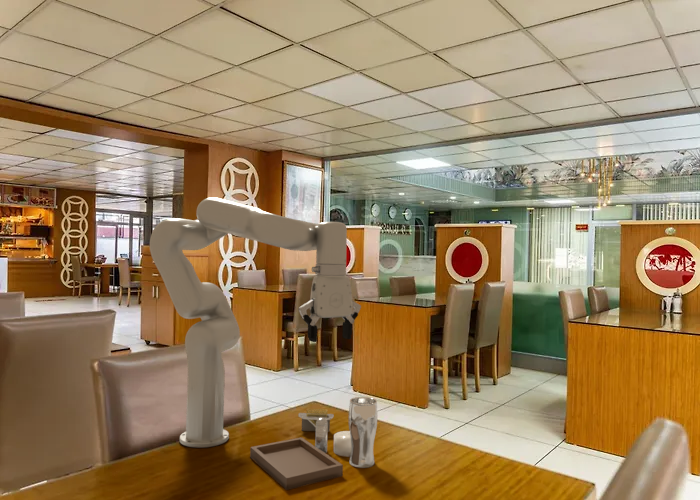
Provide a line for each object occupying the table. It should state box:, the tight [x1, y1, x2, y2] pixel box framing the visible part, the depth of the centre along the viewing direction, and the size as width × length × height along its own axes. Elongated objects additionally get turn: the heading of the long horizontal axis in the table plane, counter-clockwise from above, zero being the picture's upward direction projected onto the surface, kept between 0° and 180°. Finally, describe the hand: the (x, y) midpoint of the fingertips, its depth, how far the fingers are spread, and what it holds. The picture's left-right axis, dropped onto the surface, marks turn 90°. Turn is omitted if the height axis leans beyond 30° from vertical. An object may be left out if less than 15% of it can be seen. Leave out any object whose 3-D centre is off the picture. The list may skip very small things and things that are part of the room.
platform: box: [298, 408, 334, 433], centre depth 145 cm, size 12×18×7 cm, turn 88°
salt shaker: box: [314, 418, 328, 454], centre depth 131 cm, size 3×3×8 cm
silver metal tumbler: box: [348, 396, 378, 469], centre depth 124 cm, size 7×7×15 cm
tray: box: [249, 437, 344, 491], centre depth 121 cm, size 20×14×2 cm
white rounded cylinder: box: [333, 430, 351, 458], centre depth 131 cm, size 7×7×4 cm
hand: (330, 339), depth 129 cm, fingers open, 9 cm apart
